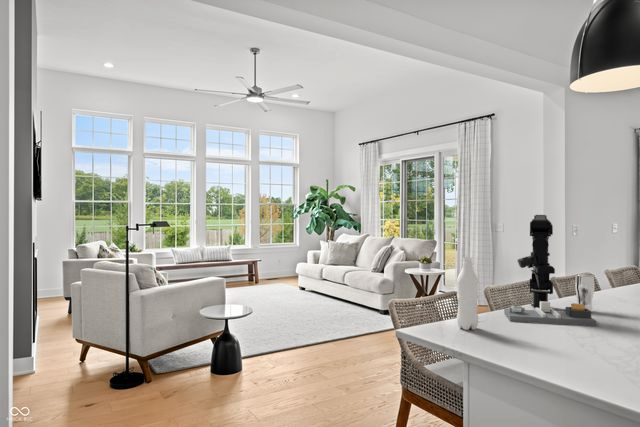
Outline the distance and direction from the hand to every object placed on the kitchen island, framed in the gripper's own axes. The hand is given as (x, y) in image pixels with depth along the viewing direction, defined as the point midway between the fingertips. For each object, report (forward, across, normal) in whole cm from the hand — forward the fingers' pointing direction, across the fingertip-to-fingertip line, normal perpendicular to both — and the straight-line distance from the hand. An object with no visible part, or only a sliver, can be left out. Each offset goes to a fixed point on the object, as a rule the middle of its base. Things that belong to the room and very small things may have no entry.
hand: (540, 288), depth 178 cm
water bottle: (+10, +32, -31) cm, 46 cm away
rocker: (+7, +11, -11) cm, 17 cm away
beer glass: (+10, -9, +19) cm, 23 cm away
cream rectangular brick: (+8, +7, 0) cm, 11 cm away
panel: (+10, +11, 0) cm, 15 cm away
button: (+6, +11, +10) cm, 17 cm away
